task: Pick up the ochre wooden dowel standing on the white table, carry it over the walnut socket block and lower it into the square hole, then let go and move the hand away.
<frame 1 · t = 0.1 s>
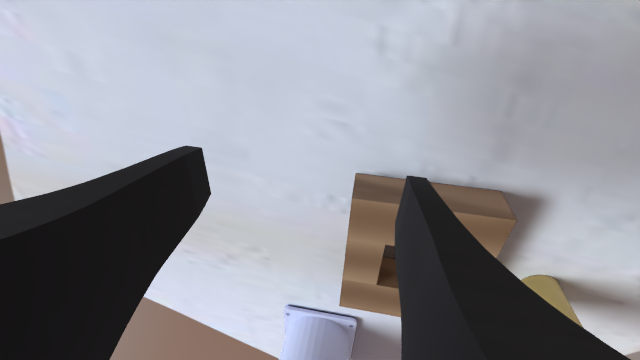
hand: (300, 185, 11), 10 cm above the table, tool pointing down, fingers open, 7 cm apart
dowel: (536, 286, 25), on the table
socket: (409, 241, 25), on the table
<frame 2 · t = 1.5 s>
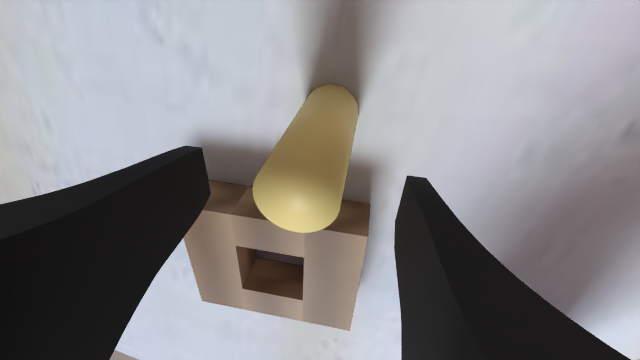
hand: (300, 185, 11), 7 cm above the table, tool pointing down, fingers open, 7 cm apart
dowel: (331, 111, 16), on the table
socket: (282, 242, 23), on the table
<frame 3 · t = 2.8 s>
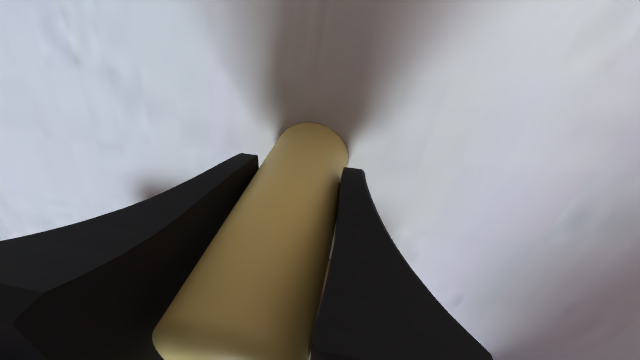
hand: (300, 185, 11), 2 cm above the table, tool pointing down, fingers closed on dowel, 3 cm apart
dowel: (311, 156, 12), on the table, touching gripper
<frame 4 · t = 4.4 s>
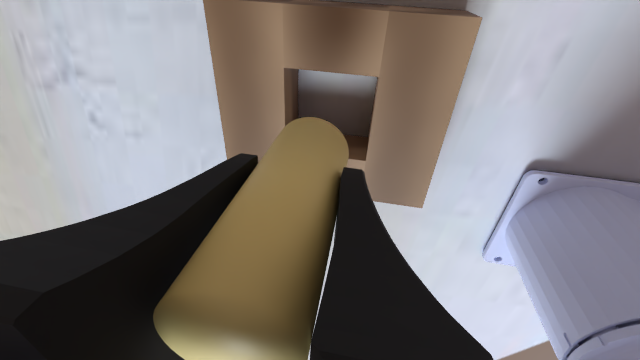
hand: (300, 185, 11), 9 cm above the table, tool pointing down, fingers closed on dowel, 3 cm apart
dowel: (312, 151, 12), point 7 cm above the table, touching gripper
socket: (335, 98, 18), on the table
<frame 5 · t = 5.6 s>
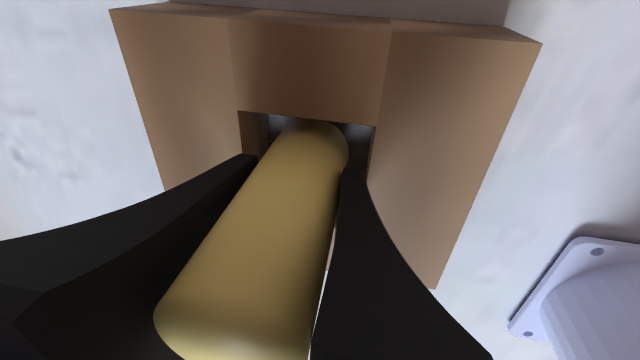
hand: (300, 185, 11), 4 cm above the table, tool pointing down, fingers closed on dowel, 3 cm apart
dowel: (312, 151, 12), point 1 cm above the table, touching gripper
socket: (318, 140, 13), on the table
when the fingers open (3 cm above the table, at t = 6.4 s): dowel drops 1 cm, resting in socket.
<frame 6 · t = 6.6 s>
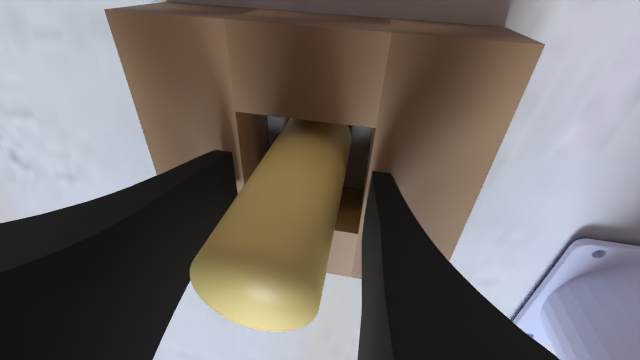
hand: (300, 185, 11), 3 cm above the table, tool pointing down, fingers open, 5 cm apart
dowel: (317, 138, 13), resting in socket
socket: (317, 141, 13), on the table
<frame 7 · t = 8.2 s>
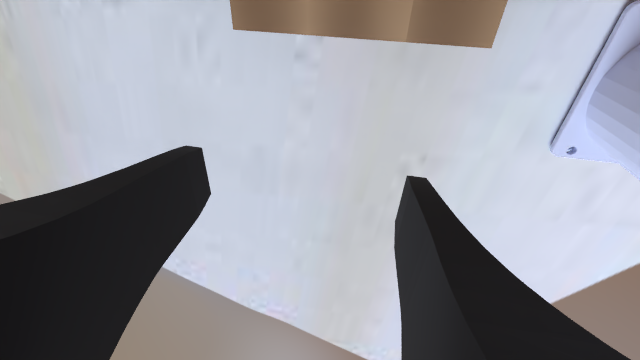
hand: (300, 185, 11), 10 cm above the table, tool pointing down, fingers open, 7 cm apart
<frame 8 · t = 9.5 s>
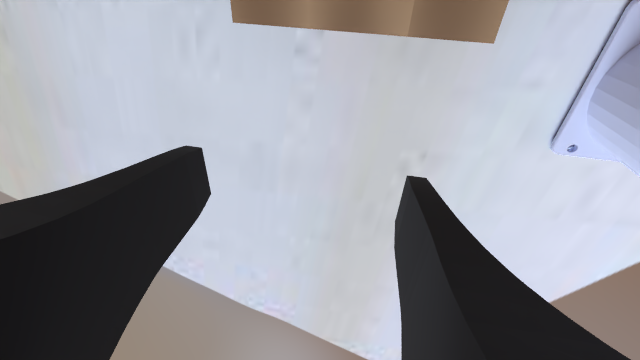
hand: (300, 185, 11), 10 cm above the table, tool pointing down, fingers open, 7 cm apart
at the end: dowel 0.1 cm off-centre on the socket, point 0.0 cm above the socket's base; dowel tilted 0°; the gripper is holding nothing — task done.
